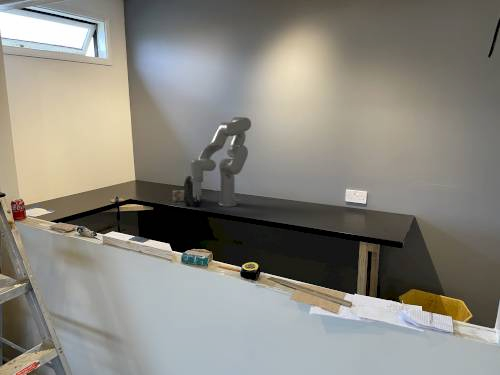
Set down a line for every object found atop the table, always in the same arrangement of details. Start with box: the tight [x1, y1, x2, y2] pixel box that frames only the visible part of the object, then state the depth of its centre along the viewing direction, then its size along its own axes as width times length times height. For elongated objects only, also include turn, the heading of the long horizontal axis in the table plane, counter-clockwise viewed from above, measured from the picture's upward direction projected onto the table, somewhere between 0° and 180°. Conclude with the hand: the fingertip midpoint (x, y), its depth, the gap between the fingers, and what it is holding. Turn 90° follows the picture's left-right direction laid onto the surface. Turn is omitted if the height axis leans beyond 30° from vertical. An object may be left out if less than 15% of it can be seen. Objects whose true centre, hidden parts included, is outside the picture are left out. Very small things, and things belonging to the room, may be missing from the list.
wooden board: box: [172, 189, 203, 202], centre depth 248 cm, size 20×2×7 cm, turn 104°
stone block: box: [183, 174, 195, 207], centre depth 238 cm, size 18×9×20 cm, turn 166°
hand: (197, 207), depth 225 cm, fingers closed
